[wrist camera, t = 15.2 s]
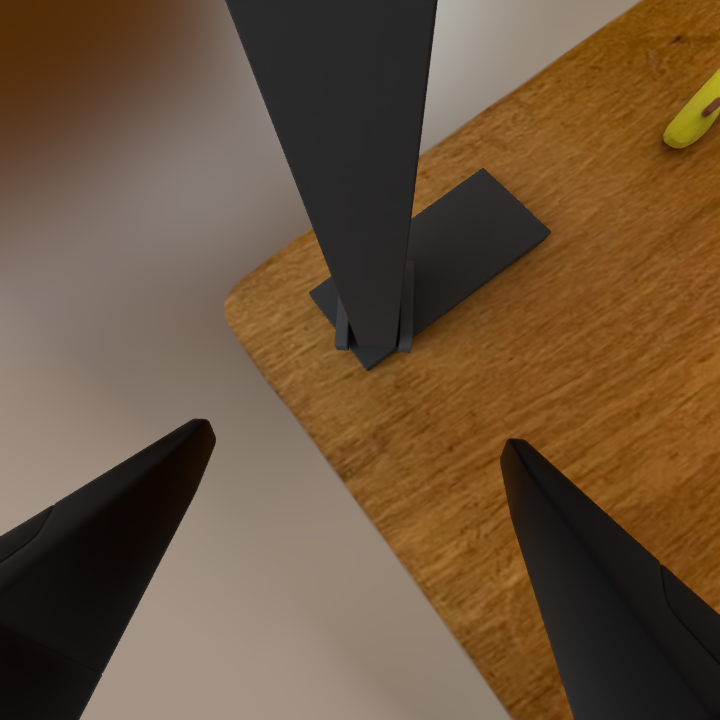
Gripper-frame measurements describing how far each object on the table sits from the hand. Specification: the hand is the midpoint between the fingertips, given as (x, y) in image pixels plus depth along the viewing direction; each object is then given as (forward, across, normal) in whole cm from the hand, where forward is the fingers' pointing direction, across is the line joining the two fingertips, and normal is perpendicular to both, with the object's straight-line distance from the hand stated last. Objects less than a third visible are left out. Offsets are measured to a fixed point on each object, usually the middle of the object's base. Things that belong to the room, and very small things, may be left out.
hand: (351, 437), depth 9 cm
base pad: (+16, -4, 0) cm, 16 cm away
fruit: (+24, -22, -9) cm, 34 cm away
